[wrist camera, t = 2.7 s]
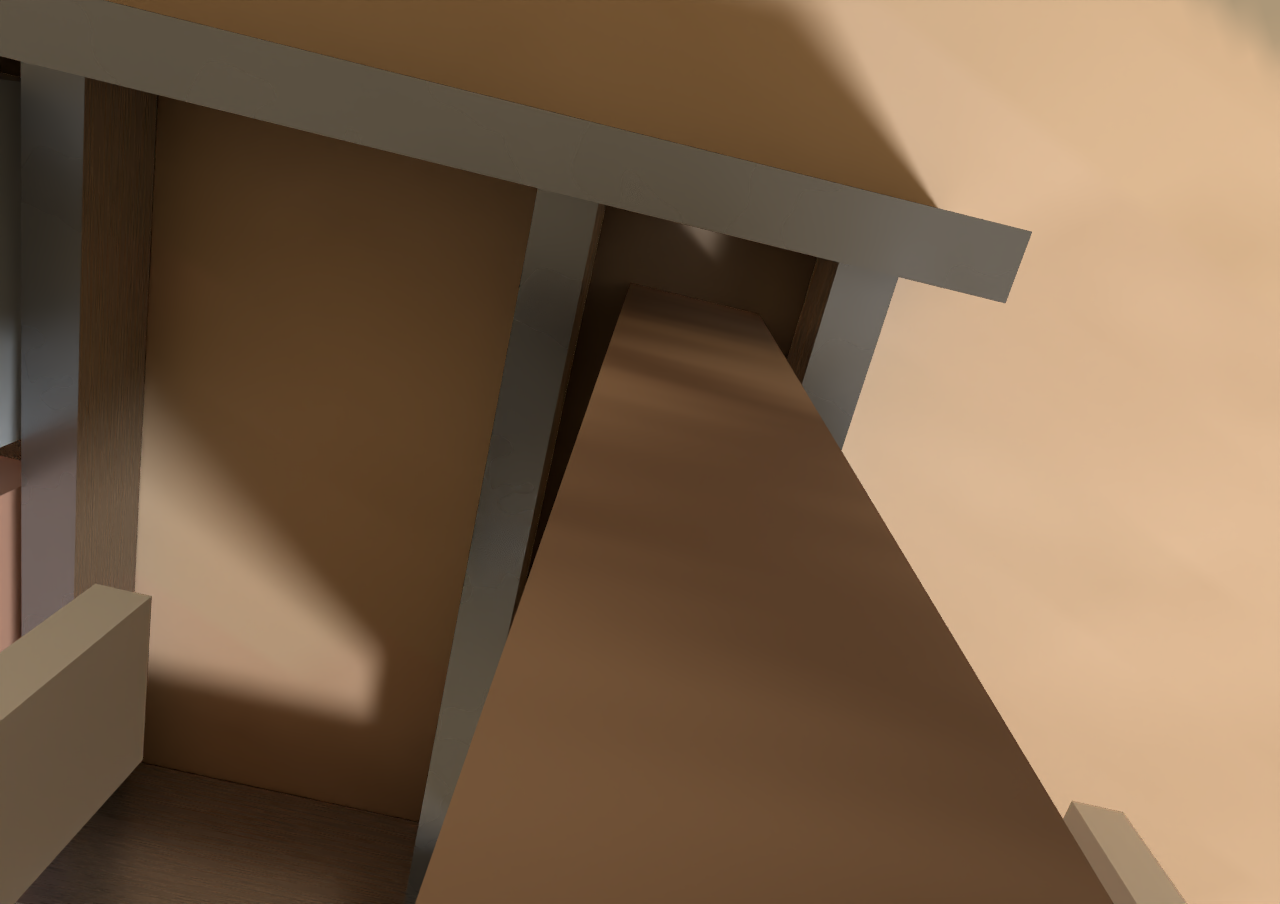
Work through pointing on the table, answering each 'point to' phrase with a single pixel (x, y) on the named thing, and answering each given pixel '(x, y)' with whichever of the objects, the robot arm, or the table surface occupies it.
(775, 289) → the table surface
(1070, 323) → the table surface
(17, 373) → the slate offcut
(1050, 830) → the walnut sheet
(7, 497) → the terracotta offcut
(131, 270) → the floor rack
